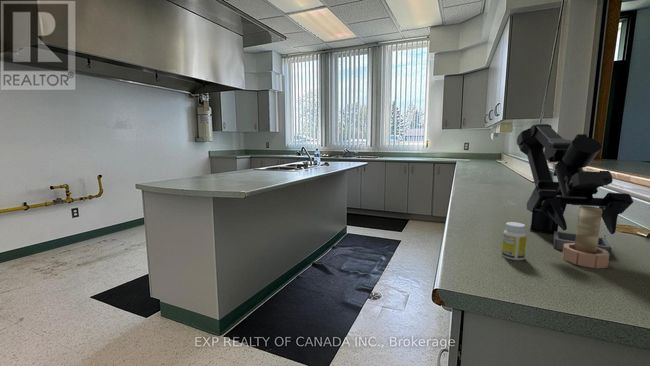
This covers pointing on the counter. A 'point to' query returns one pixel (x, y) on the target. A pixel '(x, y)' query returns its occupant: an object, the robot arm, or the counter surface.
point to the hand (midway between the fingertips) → (588, 231)
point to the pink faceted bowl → (585, 257)
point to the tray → (564, 238)
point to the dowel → (588, 229)
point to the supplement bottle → (514, 241)
